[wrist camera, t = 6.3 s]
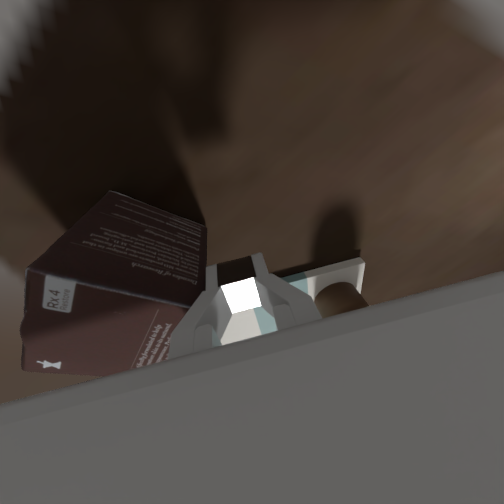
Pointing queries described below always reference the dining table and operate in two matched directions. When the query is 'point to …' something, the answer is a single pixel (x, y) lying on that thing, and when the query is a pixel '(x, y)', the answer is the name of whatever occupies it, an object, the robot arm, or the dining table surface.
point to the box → (112, 289)
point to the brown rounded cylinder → (338, 299)
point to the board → (308, 282)
